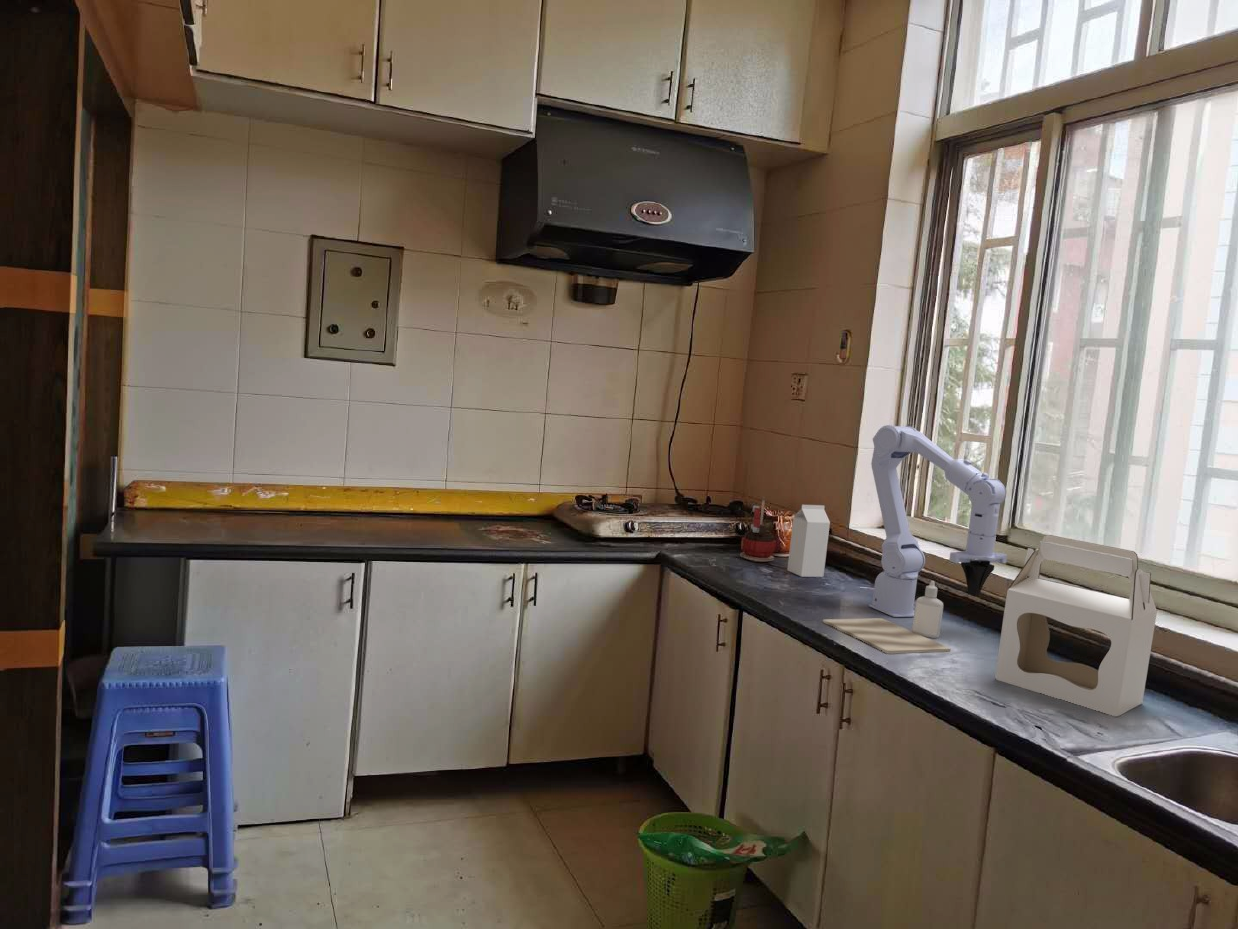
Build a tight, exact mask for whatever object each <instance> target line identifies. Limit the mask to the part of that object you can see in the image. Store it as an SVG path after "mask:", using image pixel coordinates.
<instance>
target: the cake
mask: <svg viewBox="0 0 1238 929" xmlns="http://www.w3.org/2000/svg"><path fill="white" fill-rule="evenodd" d="M765 502H766V497H762V499H761V508H760V506H758V505H753V506H752V512H753V520H752V523H751V524H750V529H749V530H747V532H745V533H744V535H743V536H742V537H741V541H740V548H741V550H742V552H740V554H739V555H740V557H741V558H743V559H746V560H748V561H751V562H757V563H765V562H766V563H767V562H772V561H774V560H775V557H774V556H773V552H775V551H776V546H777V541H776V540H775V536H774V534H772V532H771V531H770V530H769V529H766V525H765V524H763V519H764V511H765V505H766V504H765Z"/></svg>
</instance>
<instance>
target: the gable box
mask: <svg viewBox="0 0 1238 929" xmlns="http://www.w3.org/2000/svg"><path fill="white" fill-rule="evenodd" d="M1039 544H1040V546H1039V547H1037V548H1036V549H1034V548H1032V547H1027V552H1026V556H1025V559H1024V565H1023V567H1022V568H1021V569H1020V571H1019V572H1018V574H1017V575H1016V577H1015V578H1014V580H1013V581H1012V582H1011V584H1010V585H1009V587H1008V588H1007V589H1006V590H1007V591H1006V596H1005V597H1006V598H1005V604H1004V612H1003V618H1002V624H1001V625H1002V626H1001V633H1000V637H999V638H1000V640H999V647H998V654H997V660H996V665H995V666H996V667H995V674H994V679H995V680H996V681H999V682H1002V683H1005V684H1008V685H1011V686H1014V687H1019V688H1021V689H1024V690H1028V691H1031V692H1034V693H1038V694H1040V693H1042V694H1041V695H1043V694H1045V696H1046V695H1048V696H1047V697H1050V696H1051V697H1050V698H1053V697H1054V698H1053V699H1056V698H1057V700H1059V699H1062V700H1061V701H1063V700H1065V701H1064V702H1066V701H1068V702H1067V703H1069V702H1071V703H1070V704H1072V703H1074V704H1073V705H1075V704H1077V705H1076V706H1079V705H1081V706H1080V707H1082V706H1084V707H1083V708H1085V707H1087V708H1086V709H1088V708H1090V709H1089V710H1091V709H1093V710H1092V711H1095V710H1096V712H1098V711H1100V712H1099V713H1101V712H1103V713H1102V714H1104V713H1106V714H1105V715H1107V714H1109V715H1108V716H1111V715H1112V717H1114V718H1118V717H1120V716H1121V715H1123V714H1125V713H1126V712H1128V711H1130V710H1132V709H1134V708H1136V707H1138V706H1139V705H1142V704H1143V702H1144V701H1143V700H1144V696H1145V695H1144V694H1145V688H1146V682H1147V676H1148V670H1149V663H1150V658H1151V650H1152V645H1153V639H1154V633H1155V625H1156V621H1157V620H1156V619H1157V615H1158V610H1157V608H1156V604H1155V601H1154V599H1153V596H1152V593H1151V579H1152V578H1151V577H1152V573H1151V572H1147V571H1143V570H1142V568H1139V561H1138V560H1139V558H1138V554H1137V552H1135V551H1133V550H1130V549H1124V548H1118V547H1113V546H1108V545H1104V544H1098V543H1094V542H1088V541H1083V540H1077V539H1073V538H1068V537H1062V536H1056V535H1053V534H1047V535H1044V536H1043V538H1042V540H1040V541H1039ZM1045 560H1046V561H1049V562H1051V561H1052V562H1056V563H1057V562H1058V563H1061V564H1062V563H1063V564H1067V565H1071V566H1077V567H1081V568H1086V569H1089V570H1090V569H1091V570H1095V571H1099V572H1100V571H1101V572H1106V573H1110V574H1114V575H1117V576H1119V575H1120V576H1121V577H1122V578H1124V577H1126V578H1128V579H1129V581H1130V592H1129V597H1123V596H1119V595H1115V594H1111V593H1107V592H1102V591H1098V590H1094V589H1089V588H1084V587H1081V586H1080V587H1079V586H1075V585H1071V584H1066V583H1062V582H1058V581H1054V580H1049V579H1045V578H1041V577H1040V575H1041V568H1042V563H1043V562H1044V561H1045ZM1047 618H1050V619H1053V620H1055V621H1057V622H1059V623H1062V624H1065V625H1068V626H1070V627H1073V628H1083V629H1089V630H1093V631H1096V632H1097V631H1098V632H1099V633H1100V632H1101V633H1102V634H1105V635H1106V636H1107V637H1108V638H1109V640H1110V648H1109V650H1108V651H1107V653H1106V655H1105V656H1104V657H1103V659H1102V661H1101V663H1100V665H1099V667H1098V669H1096V668H1094V667H1092V666H1089V665H1086V664H1084V663H1078V662H1065V661H1064V662H1063V661H1057V660H1055V659H1052V658H1050V657H1049V655H1048V650H1047V649H1048V647H1049V643H1050V638H1051V634H1050V627H1049V624H1048V619H1047Z"/></svg>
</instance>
